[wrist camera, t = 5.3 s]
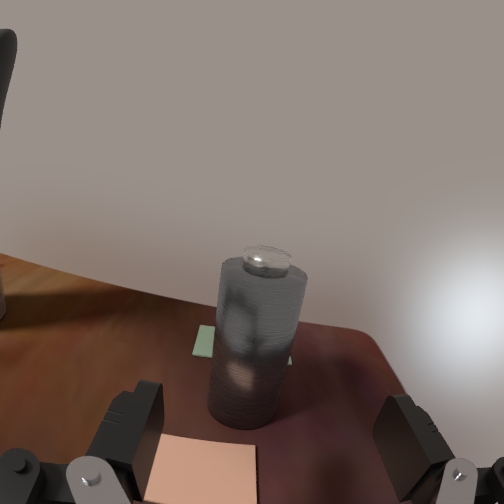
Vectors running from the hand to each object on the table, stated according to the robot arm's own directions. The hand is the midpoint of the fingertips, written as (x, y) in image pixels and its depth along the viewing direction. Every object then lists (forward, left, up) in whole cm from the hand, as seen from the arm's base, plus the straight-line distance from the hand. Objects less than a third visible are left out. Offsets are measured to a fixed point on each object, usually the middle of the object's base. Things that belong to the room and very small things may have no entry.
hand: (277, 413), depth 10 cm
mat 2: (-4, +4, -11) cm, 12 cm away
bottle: (0, +11, -11) cm, 16 cm away
